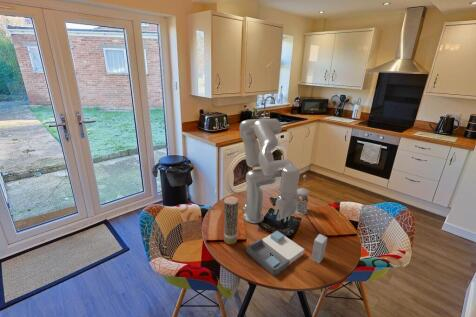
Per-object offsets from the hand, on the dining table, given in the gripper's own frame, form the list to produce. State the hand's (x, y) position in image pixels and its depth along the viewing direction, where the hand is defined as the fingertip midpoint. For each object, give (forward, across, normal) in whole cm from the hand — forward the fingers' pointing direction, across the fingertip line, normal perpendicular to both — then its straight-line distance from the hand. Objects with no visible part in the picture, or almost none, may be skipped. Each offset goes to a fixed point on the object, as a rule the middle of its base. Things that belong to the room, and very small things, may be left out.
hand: (283, 227), depth 115 cm
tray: (+17, +8, -2) cm, 18 cm away
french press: (+18, -39, -20) cm, 47 cm away
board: (+17, -4, -2) cm, 17 cm away
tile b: (+14, -4, -7) cm, 16 cm away
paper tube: (+17, +14, -23) cm, 32 cm away
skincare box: (+17, -13, +13) cm, 25 cm away
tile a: (+14, +9, +3) cm, 16 cm away
